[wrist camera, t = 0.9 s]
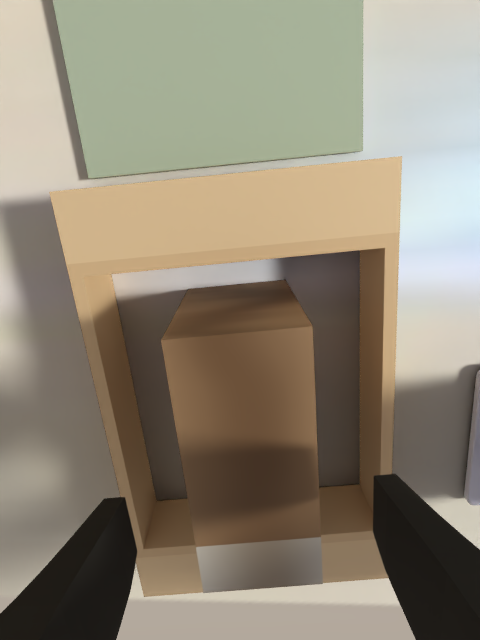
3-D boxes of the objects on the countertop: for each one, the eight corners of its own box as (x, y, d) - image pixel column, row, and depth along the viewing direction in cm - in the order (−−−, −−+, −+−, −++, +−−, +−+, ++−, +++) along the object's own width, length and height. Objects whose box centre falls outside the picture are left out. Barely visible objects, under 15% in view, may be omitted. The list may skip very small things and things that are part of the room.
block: (285, 280, 17) (312, 326, 11) (296, 465, 20) (322, 583, 14) (188, 289, 17) (161, 340, 11) (213, 472, 20) (203, 593, 14)
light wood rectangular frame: (371, 163, 16) (401, 156, 13) (368, 527, 22) (388, 577, 19) (82, 192, 16) (49, 191, 13) (156, 544, 22) (144, 596, 19)
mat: (359, -222, 12) (363, -235, 12) (359, 151, 16) (362, 150, 15) (20, -181, 12) (13, -192, 12) (91, 178, 16) (88, 178, 15)
